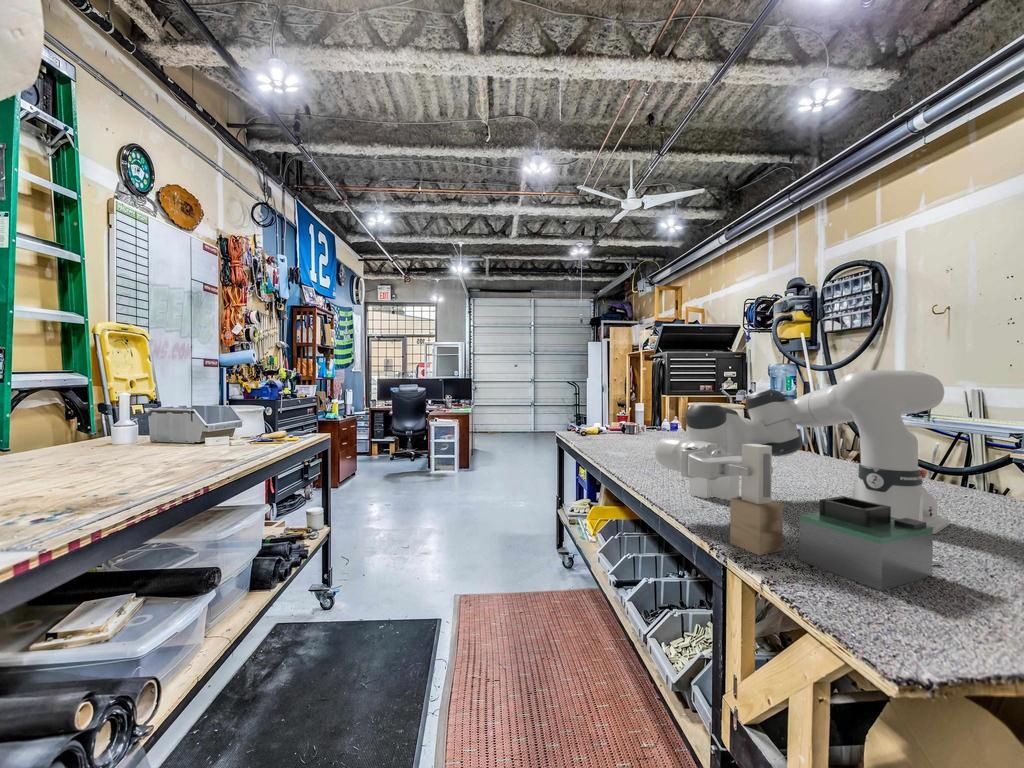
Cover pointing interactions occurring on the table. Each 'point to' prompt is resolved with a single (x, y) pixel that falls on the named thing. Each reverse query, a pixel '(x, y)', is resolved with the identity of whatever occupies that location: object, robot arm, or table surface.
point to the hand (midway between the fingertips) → (760, 471)
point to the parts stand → (756, 526)
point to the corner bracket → (715, 487)
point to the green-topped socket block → (866, 543)
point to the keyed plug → (757, 473)
